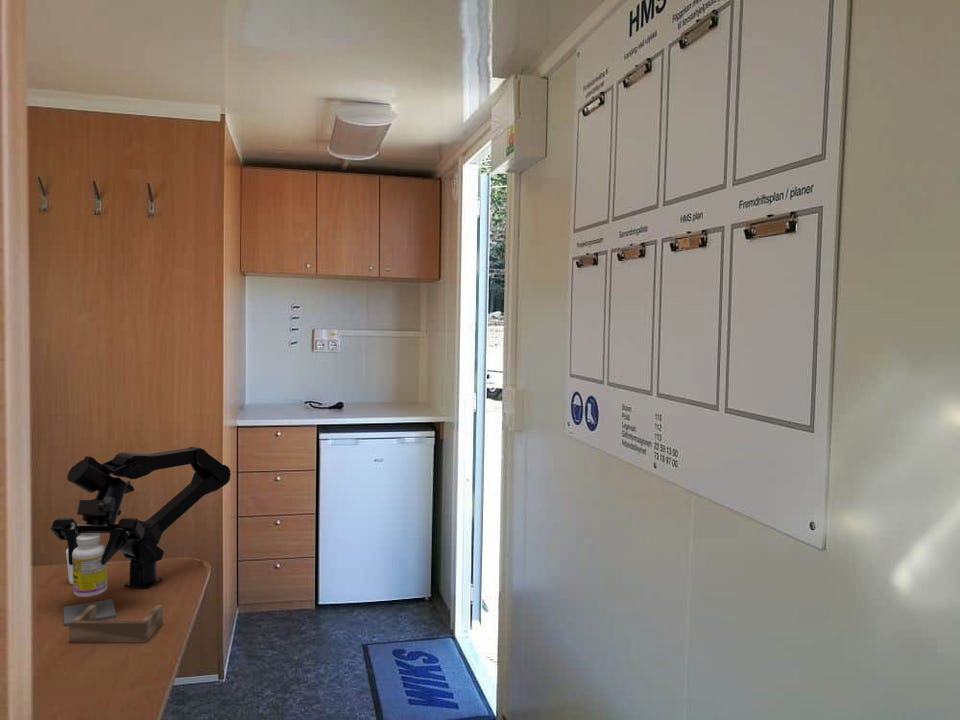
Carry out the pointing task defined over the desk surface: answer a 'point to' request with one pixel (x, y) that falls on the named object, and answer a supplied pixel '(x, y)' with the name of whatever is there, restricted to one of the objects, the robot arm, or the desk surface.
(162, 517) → the robot arm
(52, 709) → the desk surface
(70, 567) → the milkshake
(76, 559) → the supplement bottle
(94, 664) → the desk surface
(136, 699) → the desk surface
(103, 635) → the frame
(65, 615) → the charcoal mat
